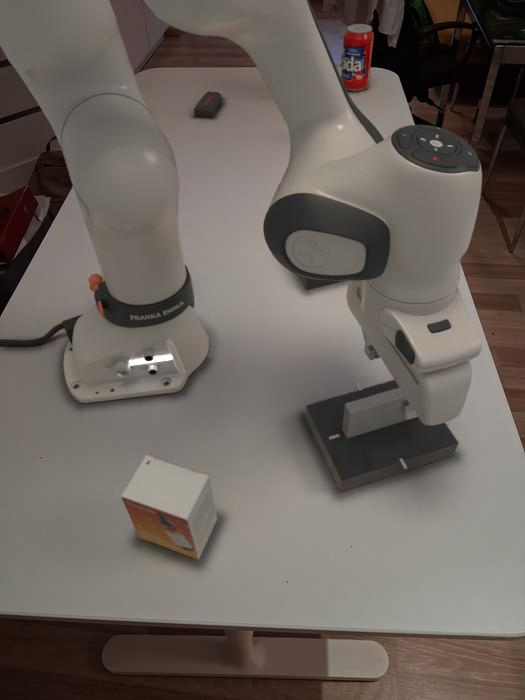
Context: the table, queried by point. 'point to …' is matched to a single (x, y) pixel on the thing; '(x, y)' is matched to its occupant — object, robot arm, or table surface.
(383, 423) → the grey thin upright block
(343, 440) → the base
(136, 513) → the small box
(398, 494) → the table surface
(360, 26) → the soda can
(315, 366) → the table surface
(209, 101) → the dark grey bevelled block
